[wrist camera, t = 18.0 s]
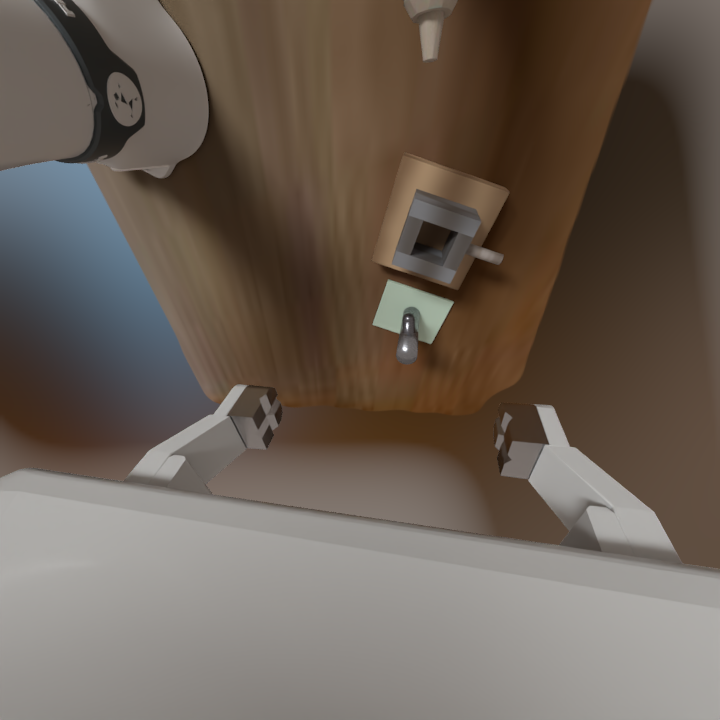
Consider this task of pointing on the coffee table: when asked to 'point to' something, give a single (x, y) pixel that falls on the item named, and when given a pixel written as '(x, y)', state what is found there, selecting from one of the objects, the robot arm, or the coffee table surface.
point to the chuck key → (408, 336)
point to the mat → (406, 296)
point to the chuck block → (438, 222)
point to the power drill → (429, 23)
